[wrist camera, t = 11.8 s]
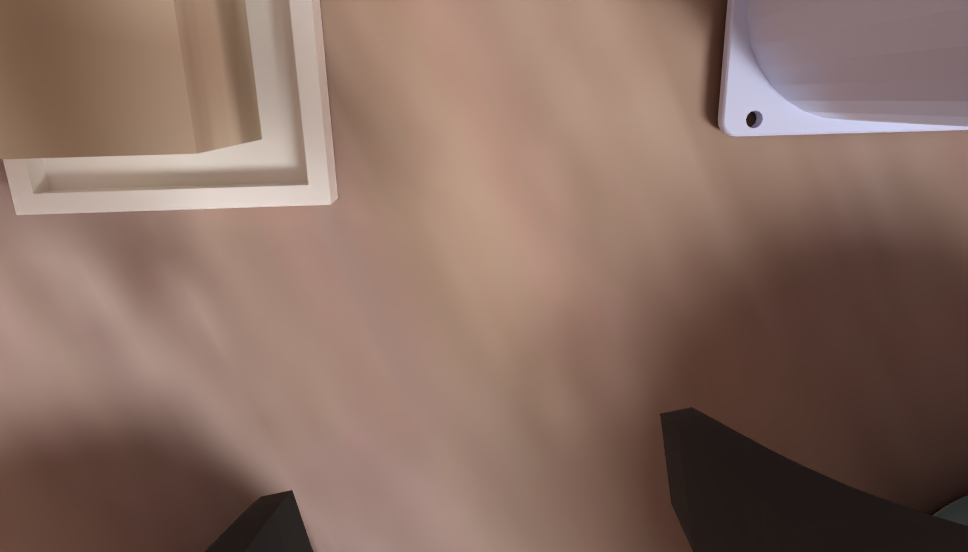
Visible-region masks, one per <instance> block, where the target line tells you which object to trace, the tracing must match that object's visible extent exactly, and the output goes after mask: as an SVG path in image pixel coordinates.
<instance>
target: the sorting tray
mask: <svg viewBox="0 0 968 552" xmlns="http://www.w3.org/2000/svg"><path fill="white" fill-rule="evenodd" d="M245 4H246V12H247V20H248V28H249V36H250V44H251V52H252V60H253V68H254V76H255V84H256V93H257V101H258V109H259V117H260V125H261V133H262V140H257V141H253V142H248V143H244V144H239V145H234V146H230V147H225V148H221V149H216V150H212V151H207V152H203V153H198V154H171V155H136V156H102V157H67V158H32V159H3V162H4V166H5V170H6V174H7V178H8V183H9V187H10V191H11V195H12V199H13V203H14V207H15V211H16V215H35V214H65V213H95V212H125V211H154V210H184V209H214V208H244V207H274V206H303V205H331V204H332V203H333V202H334V201H335V200H337V199H338V194H337V183H336V172H335V161H334V151H333V140H332V129H331V118H330V107H329V96H328V85H327V74H326V63H325V52H324V42H323V31H322V20H321V9H320V0H245Z"/></svg>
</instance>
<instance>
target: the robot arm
mask: <svg viewBox="0 0 968 552" xmlns="http://www.w3.org/2000/svg"><path fill="white" fill-rule="evenodd" d="M752 111H753V112H754V113H755V114H756V122H755V124H754V125H753V126H752V127H749V126H748V125H747V124H746V118H747V115H748V114H749V113H750V112H752ZM718 126H719V128H720V130H721V131H722V132H723V133H724V134H726V135H730V136H768V135H803V134H838V133H873V132H908V131H943V130H968V0H728V2H727V14H726V26H725V38H724V50H723V63H722V75H721V87H720V99H719V111H718ZM660 416H661V424H662V432H663V440H664V448H665V456H666V464H667V472H668V480H669V488H670V496H671V503H672V506H673V508H674V510H675V512H676V515H677V517H678V519H679V522H680V524H681V526H682V528H683V531H684V533H685V535H686V537H687V539H688V541H689V544H690V546H691V548H692V550H693V552H968V526H966V525H963V524H959V523H956V522H953V521H949V520H946V519H942V518H939V517H936V516H932V515H929V514H926V513H922V512H919V511H916V510H913V509H910V508H907V507H904V506H901V505H898V504H895V503H892V502H890V501H887V500H884V499H882V498H879V497H876V496H874V495H871V494H868V493H866V492H863V491H860V490H857V489H855V488H852V487H850V486H847V485H845V484H842V483H840V482H838V481H835V480H833V479H831V478H828V477H826V476H824V475H822V474H820V473H817V472H815V471H813V470H811V469H809V468H806V467H804V466H802V465H800V464H798V463H796V462H794V461H792V460H790V459H787V458H785V457H783V456H781V455H779V454H777V453H775V452H773V451H772V450H770V449H768V448H766V447H764V446H762V445H760V444H758V443H756V442H754V441H753V440H751V439H749V438H747V437H745V436H743V435H741V434H740V433H738V432H736V431H734V430H732V429H731V428H729V427H727V426H725V425H723V424H722V423H720V422H718V421H716V420H714V419H713V418H711V417H709V416H707V415H705V414H703V413H702V412H700V411H698V410H696V409H694V408H692V407H691V408H686V409H681V410H676V411H671V412H667V413H662V414H660ZM205 552H313V550H312V548H311V545H310V542H309V539H308V536H307V533H306V530H305V527H304V524H303V521H302V518H301V515H300V512H299V509H298V506H297V503H296V500H295V497H294V494H293V491H292V490H291V491H286V492H282V493H277V494H272V495H267V496H262V497H260V498H259V499H258V500H257V501H256V502H255V503H253V504H252V505H251V506H250V507H249V508H248V509H247V510H246V511H245V512H244V513H243V514H242V515H241V516H240V517H239V518H238V519H237V520H236V521H235V522H234V523H233V524H232V525H231V526H230V527H229V528H228V529H227V530H226V531H225V532H224V533H223V534H222V535H221V536H220V537H219V538H218V539H217V540H216V541H215V542H214V543H213V544H212V545H211V546H210V547H209V548H208V549H207V550H206V551H205Z"/></svg>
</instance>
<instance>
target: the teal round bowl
mask: <svg viewBox="0 0 968 552" xmlns="http://www.w3.org/2000/svg"><path fill="white" fill-rule="evenodd" d="M932 516H936V517H939V518H942V519H946V520H949V521H953V522H956V523H959V524H963V525H966V526H968V495H967V496H965V497H962V498H960V499H958V500H956V501H954V502H952V503H950V504H949V505H947V506H945V507H943V508H942V509H940V510H939V511H938V512H936V513H935V514H933V515H932Z"/></svg>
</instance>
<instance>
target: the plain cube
mask: <svg viewBox="0 0 968 552" xmlns="http://www.w3.org/2000/svg"><path fill="white" fill-rule="evenodd" d="M257 140H262V133H261V125H260V117H259V109H258V101H257V93H256V84H255V76H254V68H253V60H252V52H251V44H250V36H249V28H248V20H247V12H246V4H245V0H0V159H32V158H67V157H102V156H136V155H171V154H198V153H203V152H207V151H212V150H216V149H221V148H225V147H230V146H234V145H239V144H244V143H248V142H253V141H257Z"/></svg>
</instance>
